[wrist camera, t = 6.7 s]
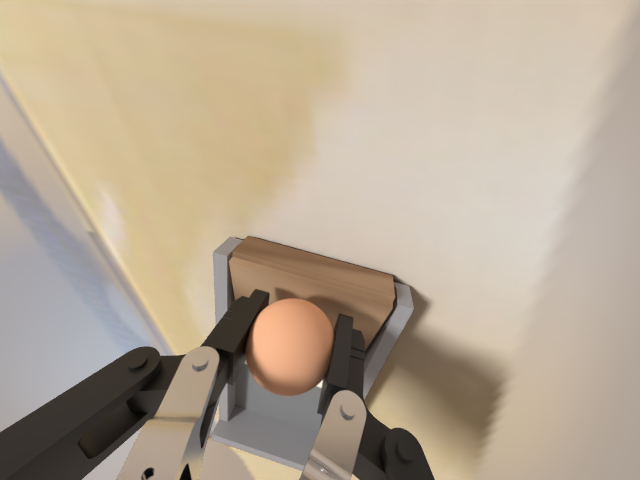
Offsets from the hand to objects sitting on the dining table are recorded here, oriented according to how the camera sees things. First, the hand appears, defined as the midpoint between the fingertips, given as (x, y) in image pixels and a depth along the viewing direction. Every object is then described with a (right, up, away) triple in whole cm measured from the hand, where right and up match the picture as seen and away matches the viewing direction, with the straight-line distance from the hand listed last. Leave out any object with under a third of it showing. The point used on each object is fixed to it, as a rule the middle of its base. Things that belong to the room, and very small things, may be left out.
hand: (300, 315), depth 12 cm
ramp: (0, -1, +4) cm, 4 cm away
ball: (0, -1, -1) cm, 2 cm away
